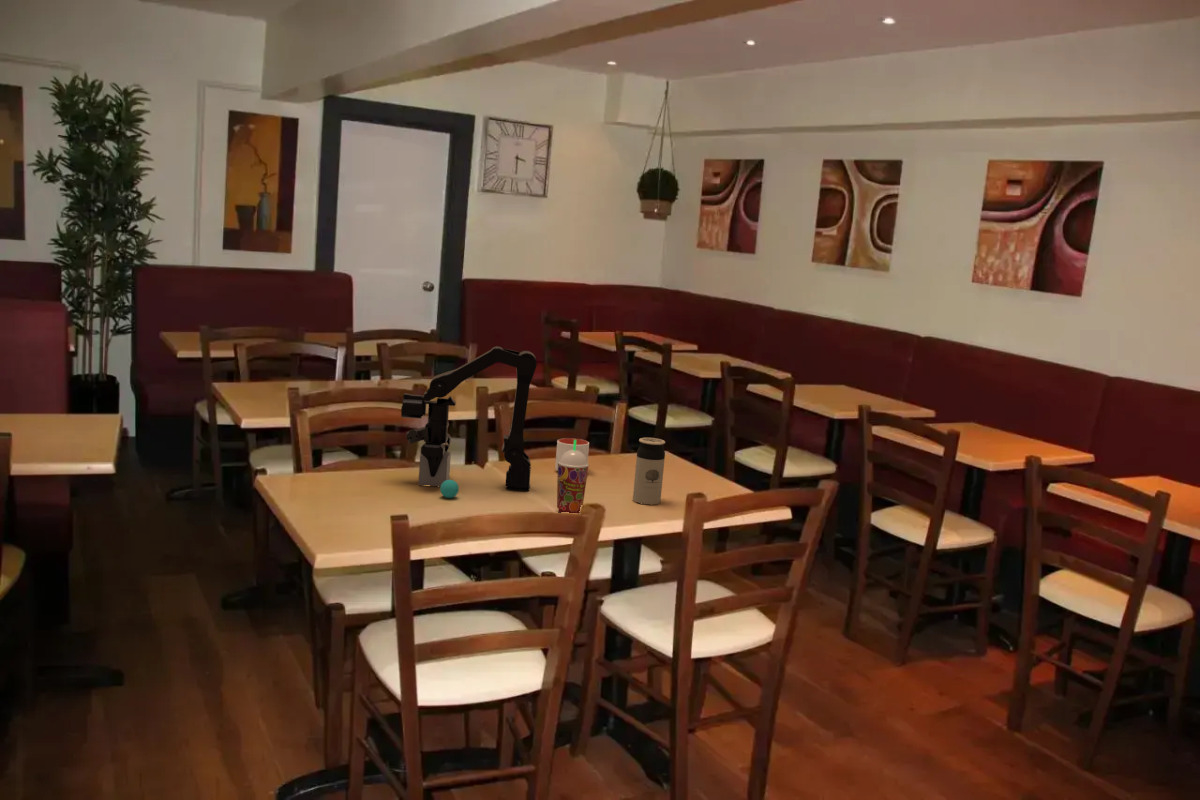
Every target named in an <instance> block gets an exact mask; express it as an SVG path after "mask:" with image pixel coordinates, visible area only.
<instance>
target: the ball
mask: <svg viewBox="0 0 1200 800" xmlns="http://www.w3.org/2000/svg"><path fill="white" fill-rule="evenodd" d="M459 487H460V486H459V485H458V483H457V481H455V480H453V479H449V480H446V481H444V482H443V483H442V484H441V487H440V488H439V490H440V493H441V495H442V496H443V497H445V498H446V499H453V498H455V497H456V496H457V495H458V494H459V491H460V488H459Z"/></svg>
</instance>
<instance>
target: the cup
mask: <svg viewBox="0 0 1200 800" xmlns="http://www.w3.org/2000/svg"><path fill="white" fill-rule="evenodd" d="M574 440H576V450H578V451H580V452H582V453H583V454H584V455H585V457H586V459H587V462H588V463H589V450H590V442H589V441H587V440H584V439H580V438H573V437H572V438H571V437H570V438H569V437H565V438H559V439H557V441H556V443H557V444H556V454H555V465H554V466H555V467H554V468H555V470H557V471H558V461H559V460H560V458H561V456H562V455H563V454H564V453H565V452H566V451H569V450H573V445H574ZM557 471H556V472H557Z"/></svg>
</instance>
